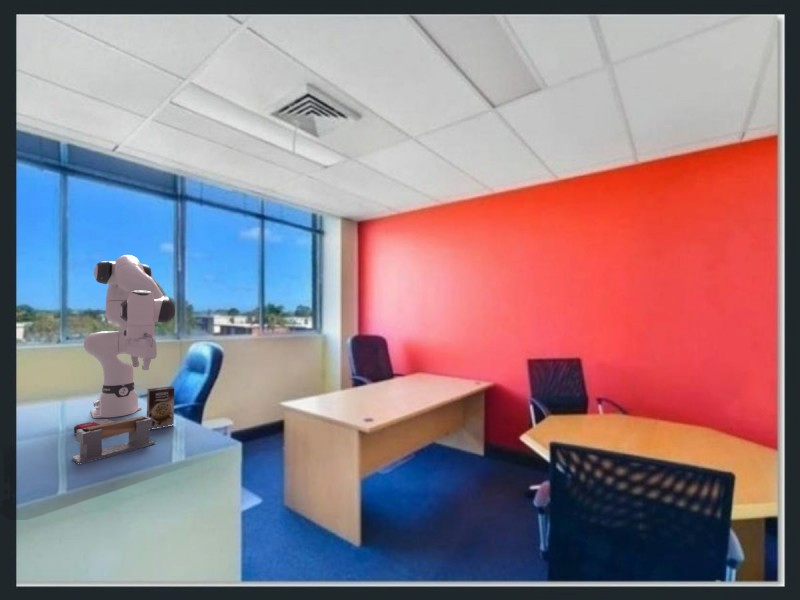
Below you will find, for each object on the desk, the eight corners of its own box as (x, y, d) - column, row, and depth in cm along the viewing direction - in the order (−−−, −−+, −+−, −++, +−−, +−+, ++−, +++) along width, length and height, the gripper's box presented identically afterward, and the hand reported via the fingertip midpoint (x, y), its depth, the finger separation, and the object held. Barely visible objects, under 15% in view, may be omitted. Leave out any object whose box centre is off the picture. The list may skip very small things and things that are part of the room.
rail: (85, 439, 125) (86, 427, 125) (140, 427, 138) (140, 416, 138) (88, 441, 124) (89, 429, 124) (143, 428, 137) (144, 417, 137)
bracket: (72, 459, 124) (72, 430, 124) (147, 440, 142) (147, 414, 142) (78, 464, 120) (79, 434, 120) (155, 444, 138) (155, 418, 138)
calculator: (106, 417, 159) (121, 422, 151) (107, 428, 159) (121, 432, 150) (73, 424, 150) (87, 429, 142) (73, 435, 150) (87, 441, 141)
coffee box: (148, 430, 152) (149, 391, 153) (146, 427, 157) (146, 388, 157) (174, 426, 158) (174, 388, 159) (171, 422, 163) (171, 385, 164)
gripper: (161, 334, 140) (161, 370, 140) (139, 330, 152) (139, 363, 152) (142, 335, 135) (142, 373, 135) (121, 331, 147) (121, 366, 147)
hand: (140, 368), depth 144 cm, fingers open, 8 cm apart
